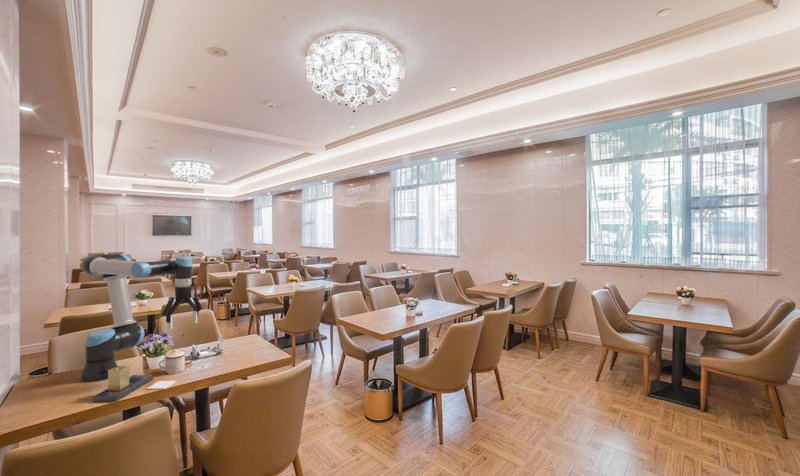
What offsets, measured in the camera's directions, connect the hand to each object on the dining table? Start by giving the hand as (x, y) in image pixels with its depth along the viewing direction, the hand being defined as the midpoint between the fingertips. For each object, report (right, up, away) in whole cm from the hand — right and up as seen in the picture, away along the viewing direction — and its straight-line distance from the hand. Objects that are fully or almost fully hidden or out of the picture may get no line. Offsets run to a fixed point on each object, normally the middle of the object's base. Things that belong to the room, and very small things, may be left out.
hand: (182, 325), depth 188 cm
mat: (-1, -26, -15) cm, 30 cm away
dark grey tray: (-15, -26, -21) cm, 36 cm away
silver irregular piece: (-3, -26, +30) cm, 40 cm away
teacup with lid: (-7, -26, +3) cm, 27 cm away
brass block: (-15, -26, -25) cm, 38 cm away
